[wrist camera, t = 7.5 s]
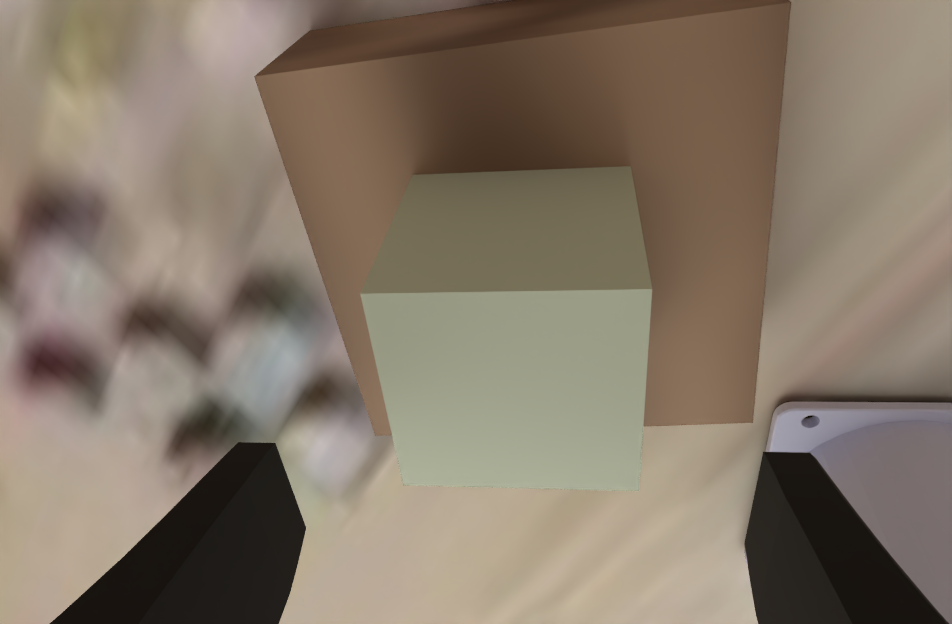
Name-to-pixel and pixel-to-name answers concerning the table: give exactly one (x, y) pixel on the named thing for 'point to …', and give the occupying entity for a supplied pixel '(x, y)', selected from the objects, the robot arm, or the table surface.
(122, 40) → the table surface
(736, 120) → the walnut block
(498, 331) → the sage cube
